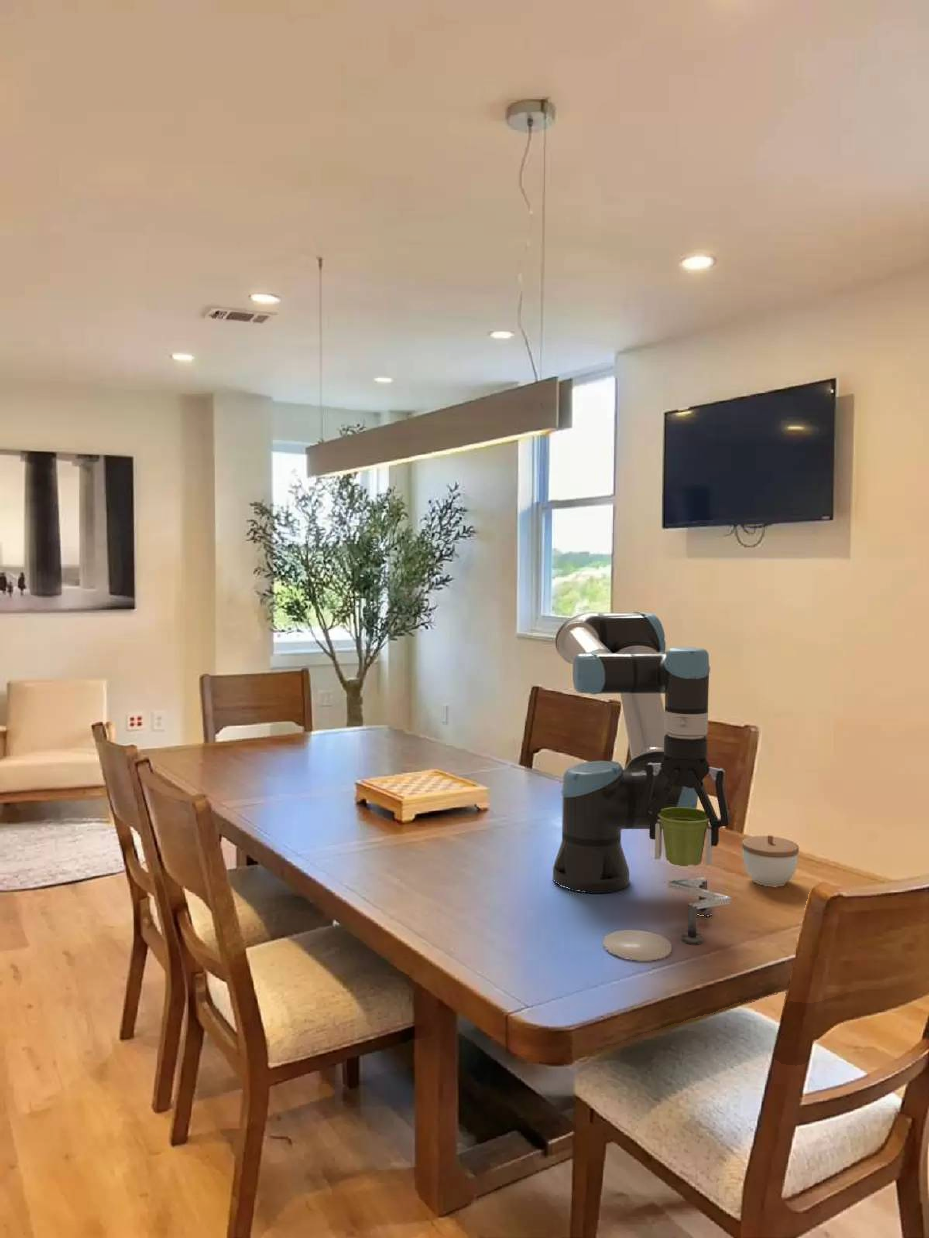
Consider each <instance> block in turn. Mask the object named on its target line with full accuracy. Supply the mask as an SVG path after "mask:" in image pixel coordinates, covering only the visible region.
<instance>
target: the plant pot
mask: <svg viewBox="0 0 929 1238" xmlns="http://www.w3.org/2000/svg"><path fill="white" fill-rule="evenodd" d="M658 816H659V817H660V822H661V824H662V828H663V829H662V837H663V841H664V850H665V851H664V852H665V858H666V861H668V862H669V863H670V864H671V865H674V866H679V867H688V866H695V867H696V866H699V865H700V864H701V863H702V859H703V853H704V847H705V842H706V841H705V840H706V835H707V827H708V825H709V824H710V823H709V820H710V819H709V818H707V816H706V814H705V811H704V809H699V808H697V809H694V808H686V807H672V808H665V809H662V810H661V812H660V813H659V814H658Z"/></svg>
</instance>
